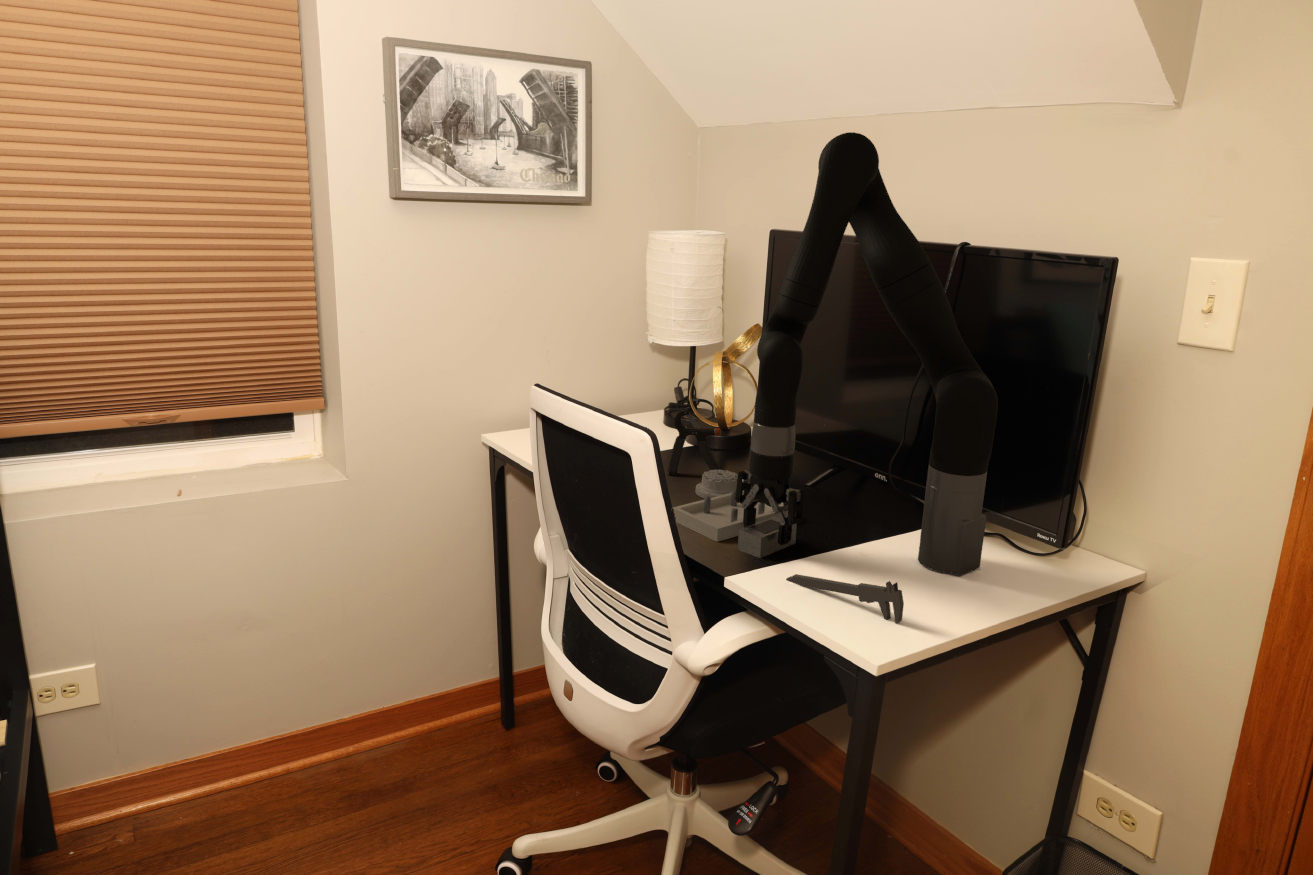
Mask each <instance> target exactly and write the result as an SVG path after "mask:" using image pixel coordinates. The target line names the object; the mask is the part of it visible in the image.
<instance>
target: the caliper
mask: <svg viewBox="0 0 1313 875" xmlns="http://www.w3.org/2000/svg"><path fill="white" fill-rule="evenodd" d="M785 580H786V581H789V582H792V583H793V584H796V585H797V586H800V587H804V588H805V587H806V588H811V589H816V590H817V589H818V590H823V591H829V592H834V593H837V594H843V595H850V596H855V597H858V601H859V602H861V603H864V602H865V603H867V604H871V603H878V606H879V608H880V610H881V614H882V616H883V619H884V620H886V621H889V620H891V619H892V617H891V615H892V613H891V604H890V603H892V609H893V616H894V623H895V624H898V623H900V622H902V620H903V616H904V615H903V614H904V607H905V606H904V605H905V604H904V603H905V602H904V596H903V591H902V589H899V586H898V582H895V583H893V584H892V582H891V581H890V580H889V581H887V582H885V586H884V585H878V584H877V585H876V584H869V583H863V582H859V584H855V583H847V582H843V581H837V580H832V579H826V578H822V577H821V578H820V577H814V576H810V575H803V574H796V573H795V574H794V575H791V576H788V577H786V578H785Z"/></svg>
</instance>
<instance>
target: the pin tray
mask: <svg viewBox="0 0 1313 875" xmlns="http://www.w3.org/2000/svg"><path fill="white" fill-rule="evenodd" d="M751 490H752V489H751ZM751 490H750V491H751ZM743 494H744V490H743V493H742V495H743ZM735 497H736V490H732V491H731V493H729V494H725V495H721V496H717V497H713V498H710V497H704V498H703V499H701V500H697V501H693V502H689V503H685V504H682V505H678V506H674V507H672V508H673V509H674V513H675V517H676V522H675V523H677V524H678V525H681V526H683V527H685V528H687V529H689V530H692V531H694V532H696V533H698V534H700V535H702V536H704V537H705V538H708V539H710V540H712V541H714V542H716V541H717V542H720V541H721V542H722V541H725V540H728V539H733V538H735V537H738V536H739V529H742V528H744V524H743V514H744V508H743V507H742V504H741V503H740V502H739V503H737V502H736V500H735ZM778 506H780V507H781V506H784V505H783V502H782V503H781V504H780V505H778ZM754 508H756V522H755V523H758V522H760V521H763V520H766V519H768V518H771V517H774V516H775V517H777V514H775V513H774V512H773V510H772V507H770V506H767V505H766V504H765V503H760V502H758V504H757V505H756V506H754ZM783 513H784V516H785V517H786V514H785V512H783ZM717 542H716V543H717Z"/></svg>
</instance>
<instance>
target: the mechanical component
mask: <svg viewBox="0 0 1313 875" xmlns="http://www.w3.org/2000/svg"><path fill="white" fill-rule="evenodd" d="M737 479H738V473H736V472H733V471H730V470H724V469H723V470H711V469H709V470H707V471H704V472H703V474H702V475H701V482H699V483H698V484H696V485H695V494H696V495H697V496H698V497H700V498H702V499H704V497H710V498H713V497H717V496H721V495H725V494H729V493H731V491H732V490H736V488H737Z"/></svg>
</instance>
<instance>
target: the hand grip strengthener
mask: <svg viewBox="0 0 1313 875" xmlns="http://www.w3.org/2000/svg"><path fill="white" fill-rule="evenodd" d="M686 415H687V417H686V419H688V421H689V422H690V423H691V425H692V426H693V427H694V428H695V429H694V428H687V427H685V426H684V425H683V423H682V417H683V416H686ZM673 425H674V427H675V429H676V430H677V432H678V435H677V436H676V438H675V440H674V443H673V446H672V449H671V454H670V457H669V462H668V465H667V466H668V467H667V472H668V476H671V475H672V476H673V475H675V476H673V477H676V476H677V475H678V470H679V469H678V468H679V463H680V459H681V457H682V456H681V455H682V453H683V452H682V451H683V449H684V446H685V442H686V440H687V437H689V436H695V438H696V441H697V445H698V449H699V452H700V454H701V456H702V458H703V460H704V462H705V464H706V465H707V466H708V468H709V470H724V469H723V467H721V465H719V463H718V462H717V460H716V459H715V457H714V456H713V454H712V452H711V450H710V447H709V444H708V442H709V441H708V438H706V437H711V436H713V437H714V436H715V437H717V436H719V437H720V436H721V435H722V433H721V427H714V428H702V426H700V424H699V423H698V422H697V421H696V419H695V418H694V416H692V415H691V413H690V410H689V409H687V408H686V409H681V410H679V411H678V413H677V414H676V416H675V417H674V424H673ZM698 428H699V429H698Z"/></svg>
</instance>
